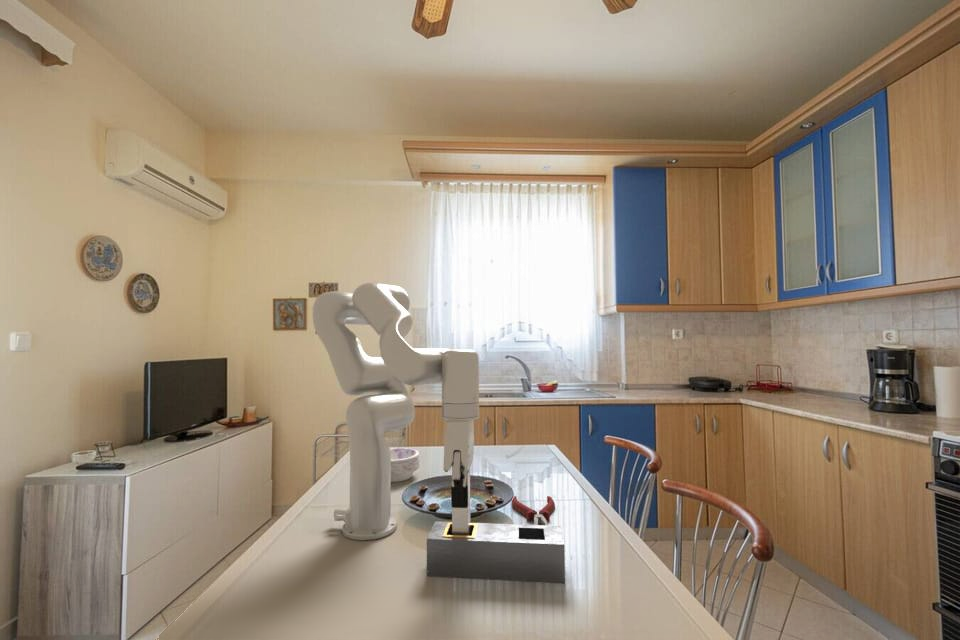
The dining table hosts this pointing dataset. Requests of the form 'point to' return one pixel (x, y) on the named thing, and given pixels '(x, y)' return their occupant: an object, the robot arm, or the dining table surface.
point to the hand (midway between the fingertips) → (461, 502)
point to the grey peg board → (497, 552)
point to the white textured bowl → (403, 463)
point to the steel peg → (462, 514)
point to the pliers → (532, 514)
